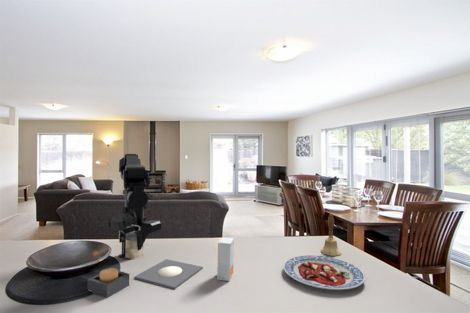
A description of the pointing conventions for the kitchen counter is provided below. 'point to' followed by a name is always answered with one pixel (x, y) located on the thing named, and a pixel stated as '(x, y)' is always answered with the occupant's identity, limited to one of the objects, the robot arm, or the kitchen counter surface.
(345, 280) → the ceramic plate
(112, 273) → the button
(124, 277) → the button box
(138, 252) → the spice jar
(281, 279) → the kitchen counter surface
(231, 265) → the skincare box
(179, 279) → the mat
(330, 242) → the hand bell
